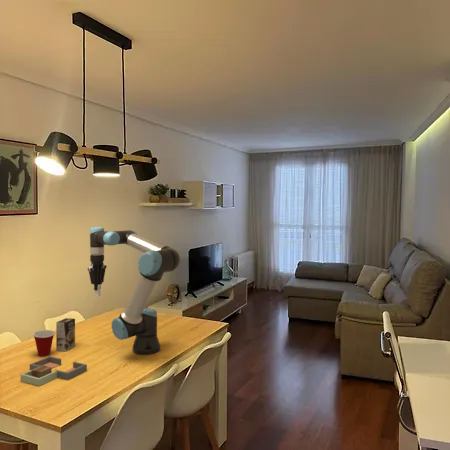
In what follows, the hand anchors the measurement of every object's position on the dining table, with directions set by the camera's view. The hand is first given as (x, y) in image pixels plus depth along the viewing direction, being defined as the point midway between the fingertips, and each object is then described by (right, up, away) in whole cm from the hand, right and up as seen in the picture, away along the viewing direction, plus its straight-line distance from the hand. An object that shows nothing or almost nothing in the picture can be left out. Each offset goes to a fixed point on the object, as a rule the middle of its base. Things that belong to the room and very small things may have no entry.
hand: (97, 295), depth 225 cm
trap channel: (-11, -31, -37) cm, 49 cm away
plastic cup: (-25, -30, -12) cm, 41 cm away
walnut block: (-13, -31, -41) cm, 53 cm away
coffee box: (-17, -30, -2) cm, 34 cm away
